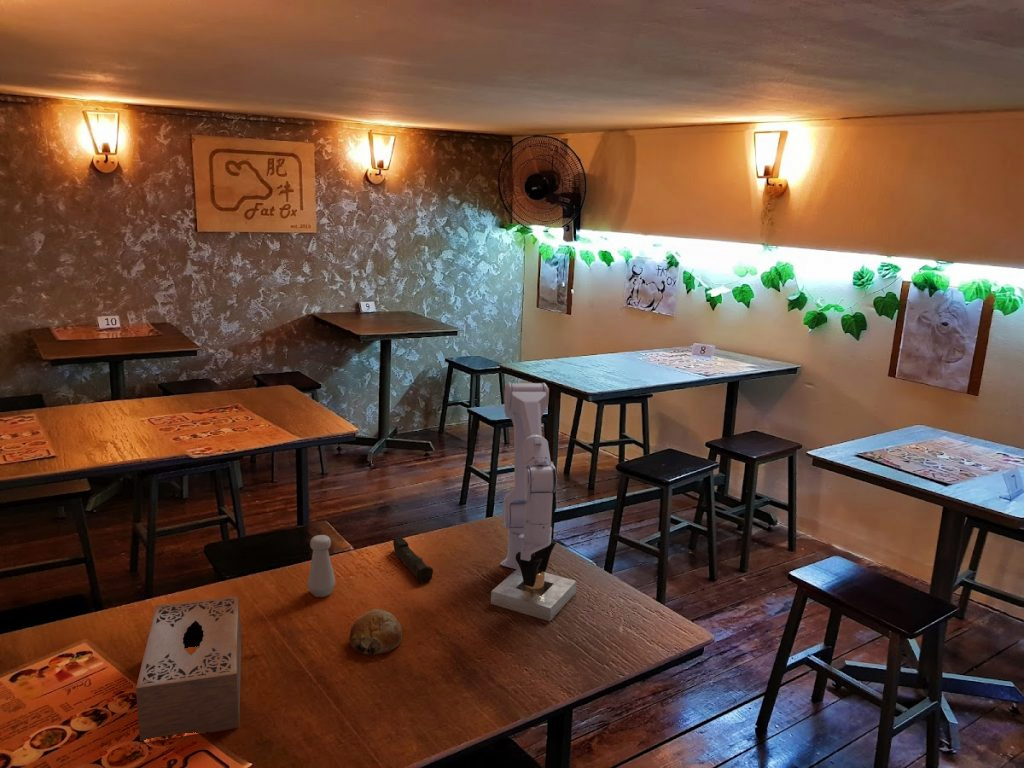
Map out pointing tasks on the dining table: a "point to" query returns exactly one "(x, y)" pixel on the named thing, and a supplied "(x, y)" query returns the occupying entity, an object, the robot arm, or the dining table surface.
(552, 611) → the square stone frame
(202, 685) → the tissue box cover
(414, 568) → the hand tool
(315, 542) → the salt shaker
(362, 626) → the bread roll
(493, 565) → the dining table surface
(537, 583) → the cylinder
